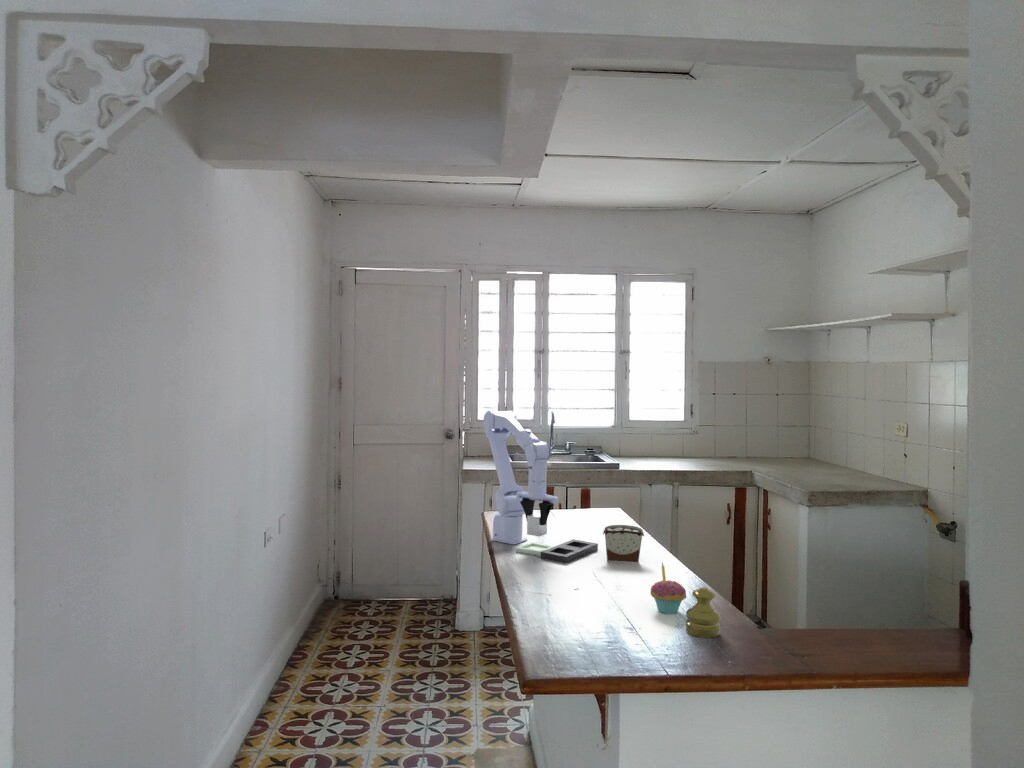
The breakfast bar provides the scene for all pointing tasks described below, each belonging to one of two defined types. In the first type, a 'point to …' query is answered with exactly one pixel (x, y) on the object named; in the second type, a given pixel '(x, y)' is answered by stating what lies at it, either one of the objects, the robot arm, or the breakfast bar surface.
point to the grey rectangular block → (535, 525)
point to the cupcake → (668, 594)
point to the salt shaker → (703, 615)
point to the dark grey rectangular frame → (569, 551)
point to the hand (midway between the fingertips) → (536, 523)
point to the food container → (623, 543)
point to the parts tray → (533, 548)
